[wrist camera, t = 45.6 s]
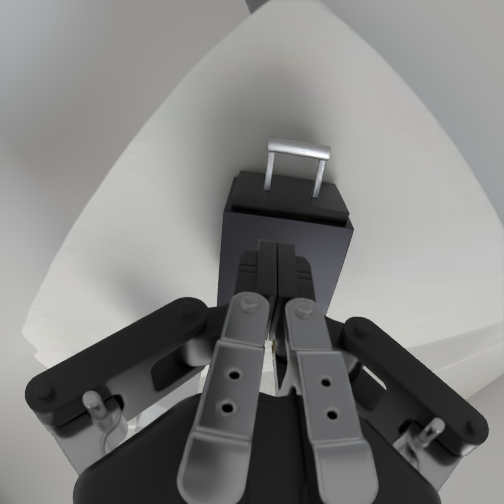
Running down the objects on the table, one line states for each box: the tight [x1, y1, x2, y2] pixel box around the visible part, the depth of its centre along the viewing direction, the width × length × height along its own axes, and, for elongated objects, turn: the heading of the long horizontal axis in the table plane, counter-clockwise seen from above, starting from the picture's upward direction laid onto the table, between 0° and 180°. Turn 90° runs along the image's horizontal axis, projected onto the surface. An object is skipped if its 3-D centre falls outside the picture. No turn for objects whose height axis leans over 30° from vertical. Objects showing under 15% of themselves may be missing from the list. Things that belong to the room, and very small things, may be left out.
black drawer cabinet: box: [217, 177, 354, 316], centre depth 38 cm, size 15×13×10 cm
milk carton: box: [135, 372, 201, 433], centre depth 47 cm, size 7×7×19 cm
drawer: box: [231, 137, 349, 223], centre depth 35 cm, size 19×11×8 cm, turn 173°
